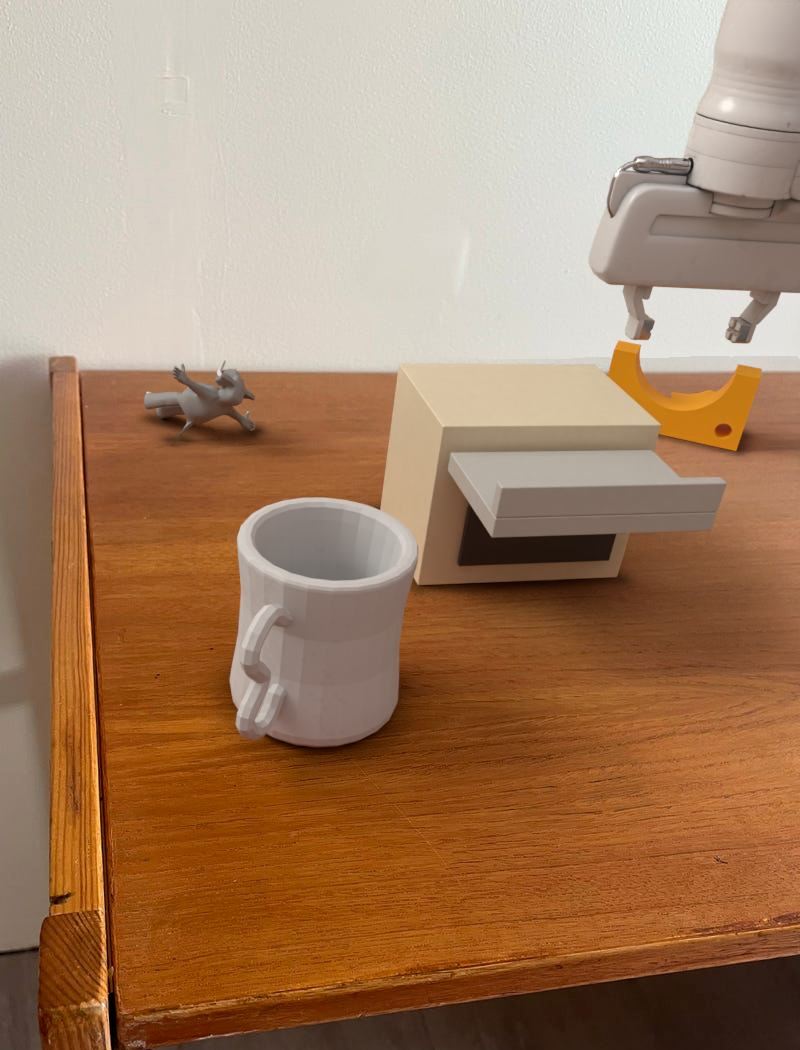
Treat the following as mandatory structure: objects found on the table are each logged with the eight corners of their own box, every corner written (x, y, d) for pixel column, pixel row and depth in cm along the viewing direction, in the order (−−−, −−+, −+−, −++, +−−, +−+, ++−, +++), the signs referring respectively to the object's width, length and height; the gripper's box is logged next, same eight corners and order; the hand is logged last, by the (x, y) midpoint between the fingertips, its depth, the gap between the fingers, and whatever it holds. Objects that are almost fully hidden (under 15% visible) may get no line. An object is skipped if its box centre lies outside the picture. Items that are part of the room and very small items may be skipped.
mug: (281, 631, 61) (292, 478, 55) (422, 684, 58) (450, 528, 52) (159, 749, 52) (157, 580, 46) (320, 819, 49) (340, 648, 43)
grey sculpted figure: (200, 400, 88) (285, 391, 83) (185, 466, 87) (269, 461, 82) (118, 343, 80) (206, 329, 75) (100, 414, 79) (188, 405, 74)
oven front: (560, 506, 77) (596, 358, 70) (677, 652, 62) (736, 482, 56) (379, 510, 74) (399, 356, 68) (457, 665, 60) (492, 487, 53)
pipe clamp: (738, 432, 92) (762, 362, 88) (736, 451, 88) (760, 378, 84) (603, 403, 95) (621, 334, 91) (596, 420, 91) (614, 349, 88)
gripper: (637, 162, 74) (589, 349, 82) (880, 180, 79) (812, 356, 87) (601, 144, 79) (558, 322, 87) (831, 162, 84) (771, 330, 92)
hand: (687, 339), depth 87 cm, fingers open, 8 cm apart
